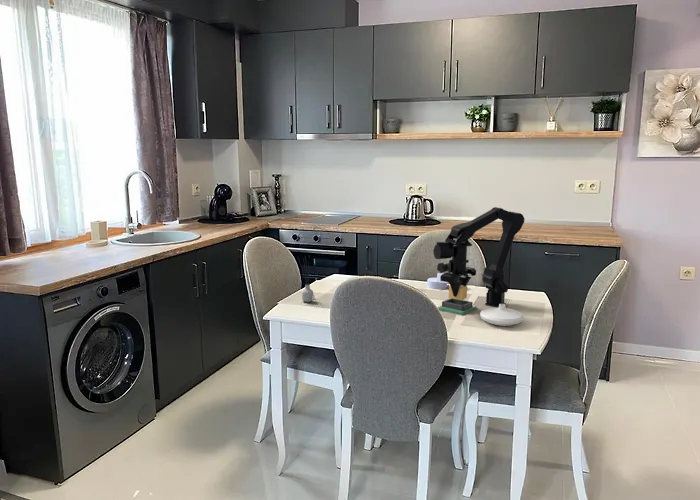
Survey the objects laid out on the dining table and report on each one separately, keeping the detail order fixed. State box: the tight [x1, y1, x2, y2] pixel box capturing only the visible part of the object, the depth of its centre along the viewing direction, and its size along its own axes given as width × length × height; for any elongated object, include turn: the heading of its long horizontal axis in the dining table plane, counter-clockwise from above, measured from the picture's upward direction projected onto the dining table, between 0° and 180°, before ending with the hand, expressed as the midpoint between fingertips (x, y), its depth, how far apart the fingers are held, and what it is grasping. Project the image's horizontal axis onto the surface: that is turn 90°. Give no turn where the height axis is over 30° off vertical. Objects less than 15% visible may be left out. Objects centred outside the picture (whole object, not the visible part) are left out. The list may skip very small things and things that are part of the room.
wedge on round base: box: [426, 272, 449, 290], centre depth 257 cm, size 9×7×13 cm
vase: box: [479, 304, 525, 327], centre depth 206 cm, size 16×16×7 cm
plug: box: [448, 284, 468, 300], centre depth 222 cm, size 6×4×5 cm, turn 50°
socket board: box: [438, 298, 477, 316], centre depth 223 cm, size 11×12×3 cm
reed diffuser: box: [297, 254, 315, 303], centre depth 232 cm, size 10×7×20 cm
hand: (457, 295), depth 222 cm, fingers closed on plug, 4 cm apart
